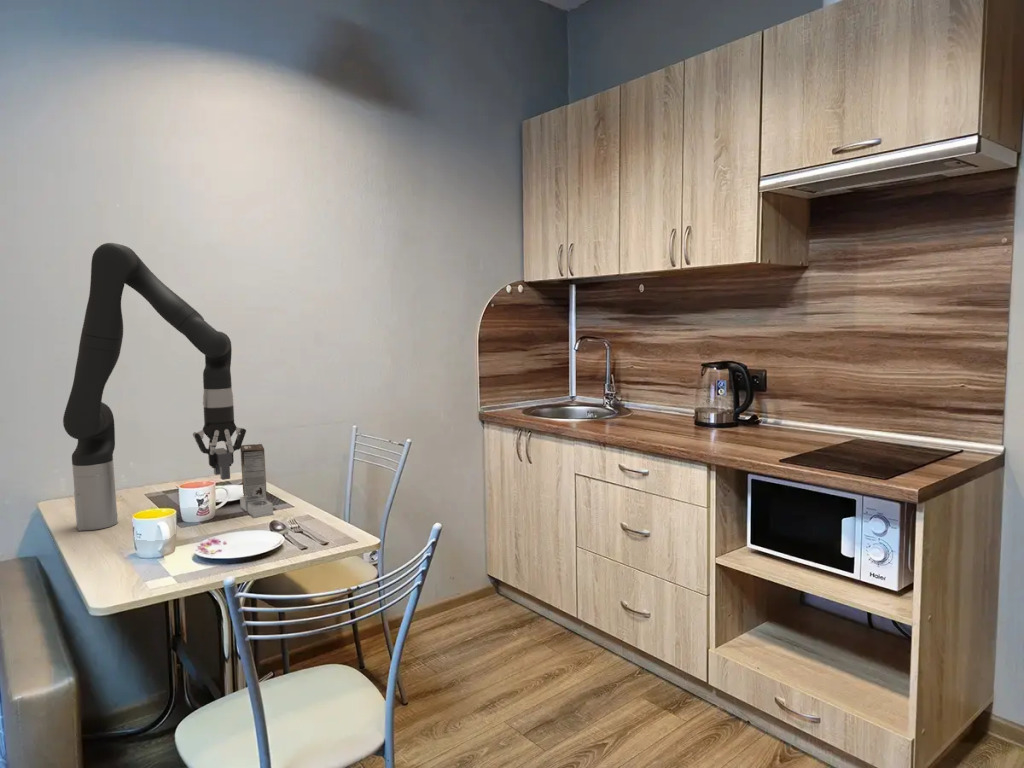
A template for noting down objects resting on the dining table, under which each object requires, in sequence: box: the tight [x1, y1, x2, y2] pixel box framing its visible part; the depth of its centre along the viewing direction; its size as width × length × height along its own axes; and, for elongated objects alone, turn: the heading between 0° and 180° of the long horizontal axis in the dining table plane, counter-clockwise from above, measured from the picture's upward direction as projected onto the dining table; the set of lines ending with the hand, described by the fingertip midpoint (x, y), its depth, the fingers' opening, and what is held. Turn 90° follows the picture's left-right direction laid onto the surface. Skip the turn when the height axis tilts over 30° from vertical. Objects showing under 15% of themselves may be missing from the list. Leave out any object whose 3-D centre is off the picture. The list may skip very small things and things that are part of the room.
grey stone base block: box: [239, 494, 274, 518], centre depth 191 cm, size 5×13×4 cm, turn 37°
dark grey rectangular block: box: [213, 447, 233, 481], centre depth 185 cm, size 4×9×7 cm, turn 37°
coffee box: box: [239, 443, 268, 500], centre depth 204 cm, size 9×6×16 cm
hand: (221, 466), depth 185 cm, fingers closed on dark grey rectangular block, 3 cm apart
